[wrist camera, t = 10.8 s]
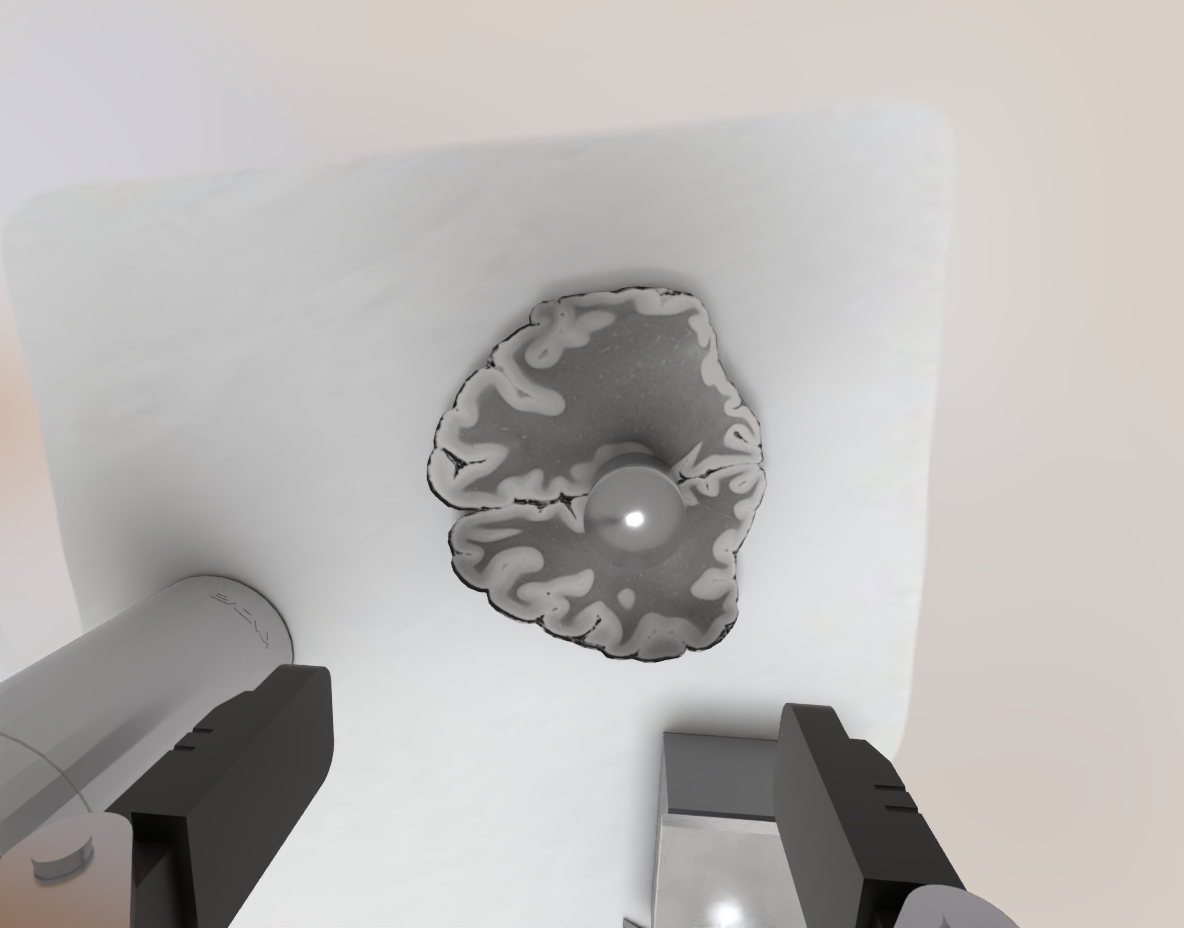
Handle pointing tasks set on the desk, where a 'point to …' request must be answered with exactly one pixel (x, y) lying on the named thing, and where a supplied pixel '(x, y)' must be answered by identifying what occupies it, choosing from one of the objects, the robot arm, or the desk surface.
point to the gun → (628, 925)
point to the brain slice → (575, 454)
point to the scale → (714, 781)
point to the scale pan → (723, 875)
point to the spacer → (635, 512)
